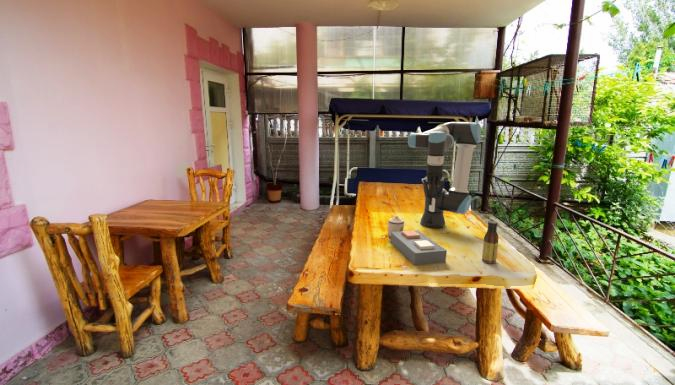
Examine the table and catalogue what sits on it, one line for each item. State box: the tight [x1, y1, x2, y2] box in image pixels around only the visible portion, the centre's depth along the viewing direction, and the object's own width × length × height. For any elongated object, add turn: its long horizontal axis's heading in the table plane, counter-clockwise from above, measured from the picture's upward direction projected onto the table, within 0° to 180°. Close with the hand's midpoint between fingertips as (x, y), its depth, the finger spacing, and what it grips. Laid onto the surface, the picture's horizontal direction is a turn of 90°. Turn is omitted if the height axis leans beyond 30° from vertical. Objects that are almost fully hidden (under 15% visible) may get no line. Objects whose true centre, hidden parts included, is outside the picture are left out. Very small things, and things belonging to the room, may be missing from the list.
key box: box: [390, 229, 447, 266], centre depth 161 cm, size 16×28×6 cm, turn 14°
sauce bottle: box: [481, 220, 499, 265], centre depth 150 cm, size 6×6×20 cm
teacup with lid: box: [387, 215, 405, 238], centre depth 184 cm, size 12×9×12 cm
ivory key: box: [414, 240, 434, 250], centre depth 154 cm, size 7×7×4 cm
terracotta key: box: [402, 229, 420, 239], centre depth 167 cm, size 7×7×4 cm
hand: (431, 210), depth 160 cm, fingers closed
